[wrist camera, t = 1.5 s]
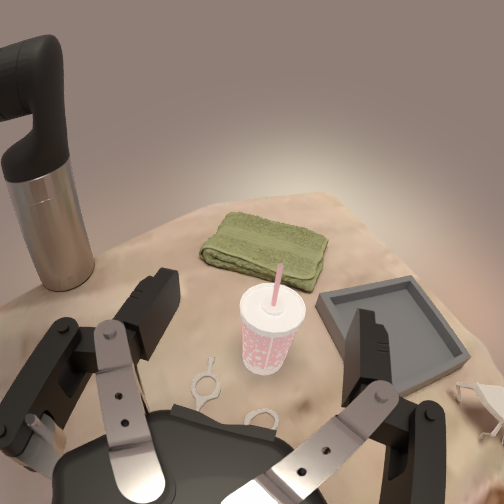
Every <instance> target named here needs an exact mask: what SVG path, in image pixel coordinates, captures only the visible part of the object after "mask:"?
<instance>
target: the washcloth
mask: <svg viewBox="0 0 504 504" xmlns="http://www.w3.org/2000/svg"><path fill="white" fill-rule="evenodd" d="M328 241H329V240H328V239H326V238H325V237H324V236H323V235H320V234H317V233H315V232H313V231H311V230H308V229H307V228H302V227H298V226H294V225H289V224H284V223H280V222H275V221H271V220H267V219H263V218H261V217H259V216H254V215H250V214H245V213H242V212H238V213H236V212H231V213H229V214H227V215H226V217H225V219H224V220H223V221H222V223H221V225H220V226H219V227H218V230H217V233H216V234H215V235H213V236H212V237H211V238H209V239H208V240H207V241H206V242H205V243H204V245H203V246H202V247H201V249H200V252H199V255H200V257H201V258H202V259H203V260H204V261H205V262H207V263H209V264H211V265H214V266H217V267H222V268H225V269H227V270H231V271H237V272H239V273H240V274H245V275H248V276H254V277H260V278H264V279H267V281H268V280H270V281H274V282H275V278H276V273H277V267H278V264H279V263H282V264H283V265H284V266H283V271H282V277H281V282H280V283H282V284H287V285H292V286H293V287H296V288H300V289H304V290H305V291H312V289H313V288H314V285H315V282H316V279H317V277H318V275H319V273H320V271H321V269H322V266H323V260H324V259H323V253H324V251H325V248H326V246H327V244H328Z"/></svg>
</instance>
